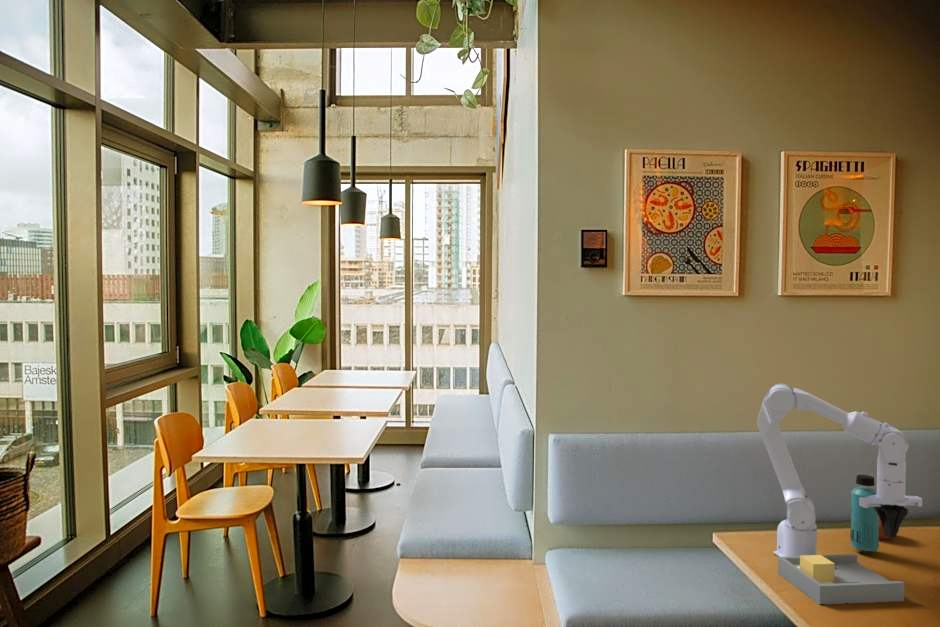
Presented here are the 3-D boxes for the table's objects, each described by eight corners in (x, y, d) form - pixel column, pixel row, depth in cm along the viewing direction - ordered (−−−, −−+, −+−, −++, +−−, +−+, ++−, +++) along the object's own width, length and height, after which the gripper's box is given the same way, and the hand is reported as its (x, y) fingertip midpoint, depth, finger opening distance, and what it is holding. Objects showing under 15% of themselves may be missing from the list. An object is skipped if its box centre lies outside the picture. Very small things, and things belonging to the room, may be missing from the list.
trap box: (777, 573, 156) (778, 556, 156) (854, 570, 158) (854, 554, 158) (819, 604, 140) (820, 586, 140) (904, 601, 142) (904, 582, 142)
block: (799, 572, 151) (800, 555, 151) (820, 571, 151) (820, 554, 151) (813, 582, 146) (813, 564, 146) (834, 581, 146) (834, 563, 146)
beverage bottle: (883, 553, 169) (885, 476, 168) (871, 559, 165) (872, 480, 164) (857, 545, 174) (858, 471, 174) (844, 551, 170) (846, 474, 170)
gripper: (874, 484, 150) (873, 543, 150) (933, 483, 151) (931, 541, 152) (853, 476, 157) (852, 532, 157) (909, 475, 158) (908, 530, 159)
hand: (890, 536), depth 155 cm, fingers closed
